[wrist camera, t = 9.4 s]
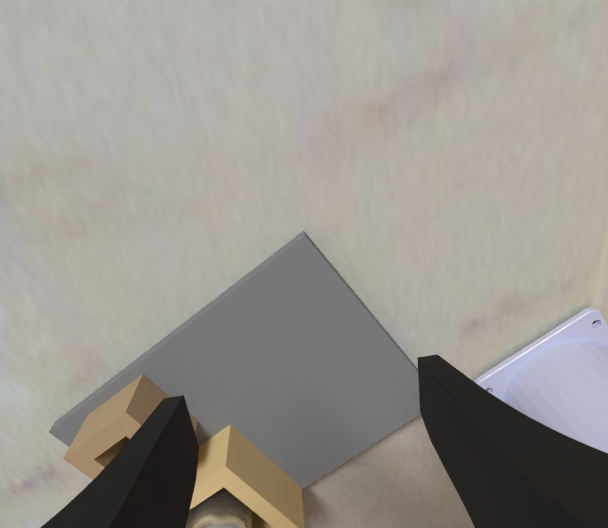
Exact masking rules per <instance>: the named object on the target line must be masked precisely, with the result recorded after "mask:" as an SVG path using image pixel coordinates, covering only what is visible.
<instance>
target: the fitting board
mask: <svg viewBox="0 0 608 528" xmlns="http://www.w3.org/2000/svg"><path fill="white" fill-rule="evenodd" d="M182 395H184V398H185V401H186V404H187V408H188V411H189V414H190V418H191V421H192V424H193V428H194V431H195V434H196V438H197V441H198V444H199V455H198V466H197V476H196V483H195V487H194V492H193V497H192V501H191V506H190V510H189V515H188V519H187V523H186V528H188V526H189V520H190V515H191V510H192V508H193V507H195V506H196V505H198V504H199V503H201V502H202V501H204V500H205V499H207V498H208V497H210V496H211V495H213V494H214V493H216V492H217V491H219V490H220V489H222V488H223V487H224V488H225V489H227V490H228V491H229V492H230V493H232V494H233V495H234V496H235V497H237V498H238V499H239V500H240V501H241V502H243V503H244V504H245V505H246V506H248V507H249V508H250V509H251V510H252V528H305V524H304V512H303V499H302V490H303V489H305V488H306V487H308V486H309V485H311V484H312V483H314V482H315V481H317V480H319V479H320V478H322V477H323V476H325V475H326V474H328V473H330V472H331V471H333V470H334V469H336V468H337V467H339V466H341V465H342V464H344V463H345V462H347V461H348V460H350V459H352V458H353V457H355V456H356V455H358V454H359V453H361V452H362V451H364V450H366V449H367V448H369V447H370V446H372V445H373V444H375V443H377V442H378V441H380V440H381V439H383V438H384V437H386V436H388V435H389V434H391V433H392V432H394V431H395V430H397V429H399V428H400V427H402V426H403V425H405V424H406V423H408V422H409V421H411V420H413V419H414V418H416V417H417V416H419V415H420V414H421V412H420V400H419V377H418V369H417V368H416V367H415V366H414V364H413V363H412V362H411V361H410V359H409V358H408V357H407V356H406V355H405V353H404V352H403V351H402V350H401V349H400V347H399V346H398V345H397V344H396V342H395V341H394V340H393V339H392V338H391V336H390V335H389V334H388V333H387V332H386V330H385V329H384V328H383V327H382V325H381V324H380V323H379V322H378V321H377V319H376V318H375V317H374V316H373V314H372V313H371V312H370V311H369V310H368V308H367V307H366V306H365V305H364V304H363V302H362V301H361V300H360V299H359V297H358V296H357V295H356V294H355V293H354V291H353V290H352V289H351V288H350V287H349V285H348V284H347V283H346V282H345V280H344V279H343V278H342V277H341V276H340V274H339V273H338V272H337V271H336V270H335V268H334V267H333V266H332V265H331V263H330V262H329V261H328V260H327V259H326V257H325V256H324V255H323V254H322V253H321V251H320V250H319V249H318V248H317V246H316V245H315V244H314V243H313V242H312V240H311V239H310V238H309V237H308V236H307V234H306V233H305V232H304V231H303V232H302V233H300V234H299V235H298V236H297V237H295V238H294V239H293V240H291V241H290V242H289V243H287V244H286V245H285V246H284V247H282V248H281V249H280V250H278V251H277V252H276V253H274V254H273V255H272V256H271V257H269V258H268V259H267V260H265V261H264V262H263V263H261V264H260V265H259V266H258V267H256V268H255V269H254V270H252V271H251V272H250V273H248V274H247V275H246V276H245V277H243V278H242V279H241V280H239V281H238V282H237V283H235V284H234V285H233V286H232V287H230V288H229V289H228V290H226V291H225V292H224V293H222V294H221V295H220V296H219V297H217V298H216V299H215V300H213V301H212V302H211V303H209V304H208V305H207V306H206V307H204V308H203V309H202V310H200V311H199V312H198V313H196V314H195V315H194V316H192V317H191V318H190V319H189V320H187V321H186V322H185V323H183V324H182V325H181V326H179V327H178V328H177V329H176V330H174V331H173V332H172V333H170V334H169V335H168V336H166V337H165V338H164V339H163V340H161V341H160V342H159V343H157V344H156V345H155V346H153V347H152V348H151V349H150V350H148V351H147V352H146V353H144V354H143V355H142V356H140V357H139V358H138V359H137V360H135V361H134V362H133V363H131V364H130V365H129V366H127V367H126V368H125V369H124V370H122V371H121V372H120V373H118V374H117V375H116V376H114V377H113V378H112V379H111V380H109V381H108V382H107V383H105V384H104V385H103V386H101V387H100V388H99V389H98V390H96V391H95V392H94V393H92V394H91V395H90V396H88V397H87V398H86V399H85V400H83V401H82V402H81V403H79V404H78V405H77V406H75V407H74V408H73V409H72V410H70V411H69V412H68V413H66V414H65V415H64V416H62V417H61V418H60V419H59V420H57V421H56V422H55V423H54V425H53V426H52V428H51V429H50V431H49V433H51V434H52V435H54V436H55V437H56V438H58V439H59V440H60V441H62V442H63V443H65V444H66V445H67V446H69V449H68V451H67V453H66V454H65V456H64V458H63V459H65V460H66V461H67V462H69V463H70V464H72V465H73V466H74V467H76V468H77V469H79V470H80V471H82V472H83V473H84V474H86V475H87V476H89V477H90V478H91V479H93V480H94V479H95V478H96V477H97V476H98V475H99V473H100V472H101V471H102V470H103V469H104V468H105V467H106V466H107V465H108V464H109V463H110V461H111V460H112V459H113V458H114V457H115V456H116V455H117V454H118V453H119V452H120V451H121V449H122V448H123V447H124V446H125V445H126V444H127V442H128V441H129V440H130V439H131V438H132V436H133V435H134V434H135V433H136V432H137V430H138V429H139V428H140V427H141V426H142V424H143V423H144V422H145V421H146V419H147V418H148V417H149V416H150V414H151V413H152V412H153V411H154V410H155V408H156V407H157V406H158V405H159V403H160V402H161V401H162V400H163V399H164V398H169V397H176V396H182Z"/></svg>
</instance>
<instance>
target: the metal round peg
mask: <svg viewBox="0 0 608 528" xmlns="http://www.w3.org/2000/svg"><path fill="white" fill-rule="evenodd" d="M188 528H252V510H251V509H250V508H249V507H248V506H246V505H245V504H244V503H243V502H241V501H240V500H239V499H238V498H237V497H235V496H234V495H233V494H232V493H230V492H229V491H228V490H227V489H225V488H224V487H223V488H222V489H220V490H219V491H217V492H216V493H214V494H213V495H211V496H210V497H208V498H207V499H205V500H204V501H202V502H201V503H199V504H198V505H196V506H195V507H193V508H192V510H191V515H190V520H189V526H188Z"/></svg>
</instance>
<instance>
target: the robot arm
mask: <svg viewBox="0 0 608 528" xmlns="http://www.w3.org/2000/svg"><path fill="white" fill-rule="evenodd" d="M595 320H596V321H595ZM594 321H595V323H594V324H592V323H593V322H594ZM418 377H419V400H420V412H421V415H422V418H423V421H424V423H425V426H426V429H427V431H428V434H429V437H430V439H431V442H432V444H433V446H434V448H435V450H436V452H437V454H438V456H439V458H440V459H441V461H442V463H443V465H444V467H445V469H446V471H447V473H448V475H449V477H450V479H451V481H452V483H453V485H454V486H455V488H456V490H457V492H458V494H459V496H460V498H461V500H462V502H463V504H464V506H465V508H466V510H467V512H468V514H469V516H470V518H471V520H472V522H473V524H474V527H475V528H608V325H607V323H606V321H605V319H604V318H603V316H602V314H601V312H600V311H599V310H597V309H596V308H593V307H588V308H586V309H584V310H583V311H581V312H580V313H578V314H576V315H575V316H573V317H572V318H570V319H569V320H567V321H565V322H564V323H562V324H561V325H559V326H558V327H556V328H554V329H553V330H551V331H550V332H548V333H547V334H545V335H544V336H542V337H540V338H539V339H537V340H536V341H534V342H533V343H531V344H529V345H528V346H526V347H525V348H523V349H522V350H520V351H518V352H517V353H515V354H514V355H512V356H511V357H509V358H507V359H506V360H504V361H503V362H501V363H500V364H498V365H497V366H495V367H493V368H492V369H490V370H489V371H487V372H486V373H484V374H482V375H481V376H479V377H478V378H477V379H476V380H475V381H474V382H473V381H472V380H471V379H469V378H468V377H467V376H465V375H464V374H463V373H461V372H460V371H459V370H457V369H456V368H455V367H453V366H452V365H451V364H449V363H448V362H447V361H445V360H444V359H443V358H441V357H440V356H439V355H432V356H425V357H419V358H418ZM487 388H490V389H489V390H487V391H486V389H487ZM198 455H199V444H198V441H197V438H196V434H195V431H194V428H193V424H192V421H191V418H190V414H189V411H188V408H187V404H186V401H185V398H184V395H182V396H176V397H169V398H164V399H163V400H162V401H161V402H160V403H159V405H158V406H157V407H156V408H155V410H154V411H153V412H152V413H151V414H150V416H149V417H148V418H147V419H146V421H145V422H144V423H143V424H142V426H141V427H140V428H139V429H138V430H137V432H136V433H135V434H134V435H133V436H132V438H131V439H130V440H129V441H128V442H127V444H126V445H125V446H124V447H123V448H122V449H121V451H120V452H119V453H118V454H117V455H116V456H115V457H114V458H113V459H112V460H111V461H110V463H109V464H108V465H107V466H106V467H105V468H104V469H103V470H102V471H101V472H100V473H99V475H98V476H97V477H96V478H95V479H94V480H93V481H92V482H91V483H90V484H89V485H88V486H87V487H86V488H85V489H84V490H83V491H82V492H81V493H79V494H78V495H77V496H76V497H75V498H74V499H73V500H72V501H71V502H70V503H69V504H68V505H67V506H66V507H64V508H63V509H62V510H61V511H60V512H59V513H58V514H56V515H55V516H54V517H53V518H52V519H50V520H49V521H48V522H47V523H46V524H44V525H43V526H42V527H41V528H186V523H187V519H188V515H189V510H190V506H191V501H192V497H193V492H194V487H195V483H196V476H197V466H198Z"/></svg>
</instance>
